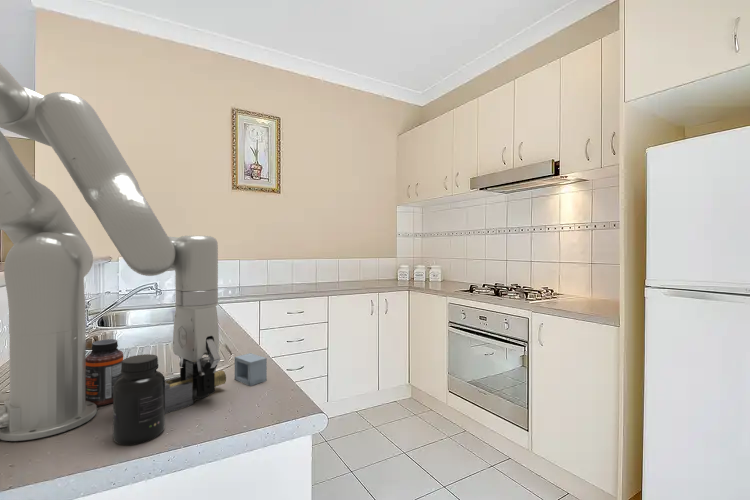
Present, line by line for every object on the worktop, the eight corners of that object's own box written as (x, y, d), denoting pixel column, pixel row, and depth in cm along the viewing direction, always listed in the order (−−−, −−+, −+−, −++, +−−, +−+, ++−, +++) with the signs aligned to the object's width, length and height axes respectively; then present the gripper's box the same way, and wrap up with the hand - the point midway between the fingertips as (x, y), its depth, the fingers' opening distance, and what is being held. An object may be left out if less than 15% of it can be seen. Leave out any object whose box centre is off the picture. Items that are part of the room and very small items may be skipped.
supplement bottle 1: (76, 404, 69) (76, 344, 69) (108, 392, 75) (107, 336, 74) (101, 409, 67) (100, 346, 67) (131, 396, 73) (130, 338, 73)
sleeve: (133, 423, 62) (133, 394, 62) (120, 413, 65) (120, 386, 65) (193, 404, 69) (193, 378, 69) (178, 396, 73) (178, 371, 73)
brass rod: (138, 418, 64) (138, 377, 64) (132, 413, 65) (132, 373, 65) (226, 390, 76) (226, 356, 76) (218, 387, 78) (218, 353, 78)
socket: (250, 386, 78) (250, 362, 78) (234, 379, 82) (234, 356, 82) (266, 380, 82) (266, 358, 82) (250, 374, 86) (250, 353, 85)
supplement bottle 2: (102, 441, 56) (102, 361, 56) (145, 421, 62) (145, 350, 62) (133, 450, 53) (133, 367, 53) (175, 429, 60) (175, 354, 60)
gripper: (158, 296, 75) (158, 385, 75) (199, 305, 64) (199, 408, 64) (195, 293, 81) (195, 375, 81) (238, 300, 70) (238, 395, 70)
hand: (197, 389), depth 73 cm, fingers open, 6 cm apart
